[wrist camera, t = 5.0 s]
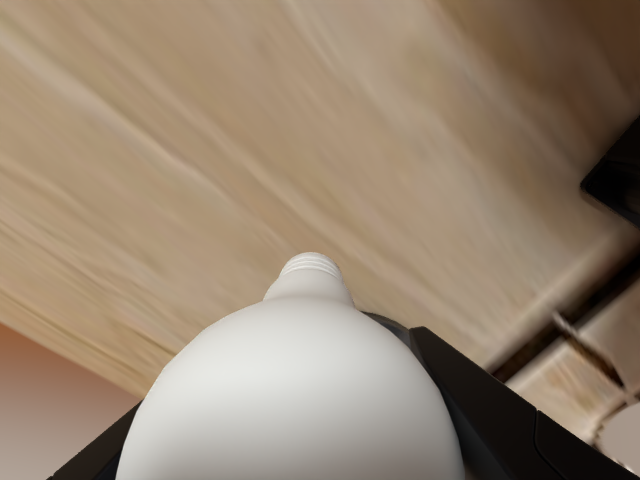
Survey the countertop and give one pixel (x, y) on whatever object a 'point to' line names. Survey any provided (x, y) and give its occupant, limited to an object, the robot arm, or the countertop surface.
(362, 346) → the lightbulb
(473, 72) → the countertop surface
